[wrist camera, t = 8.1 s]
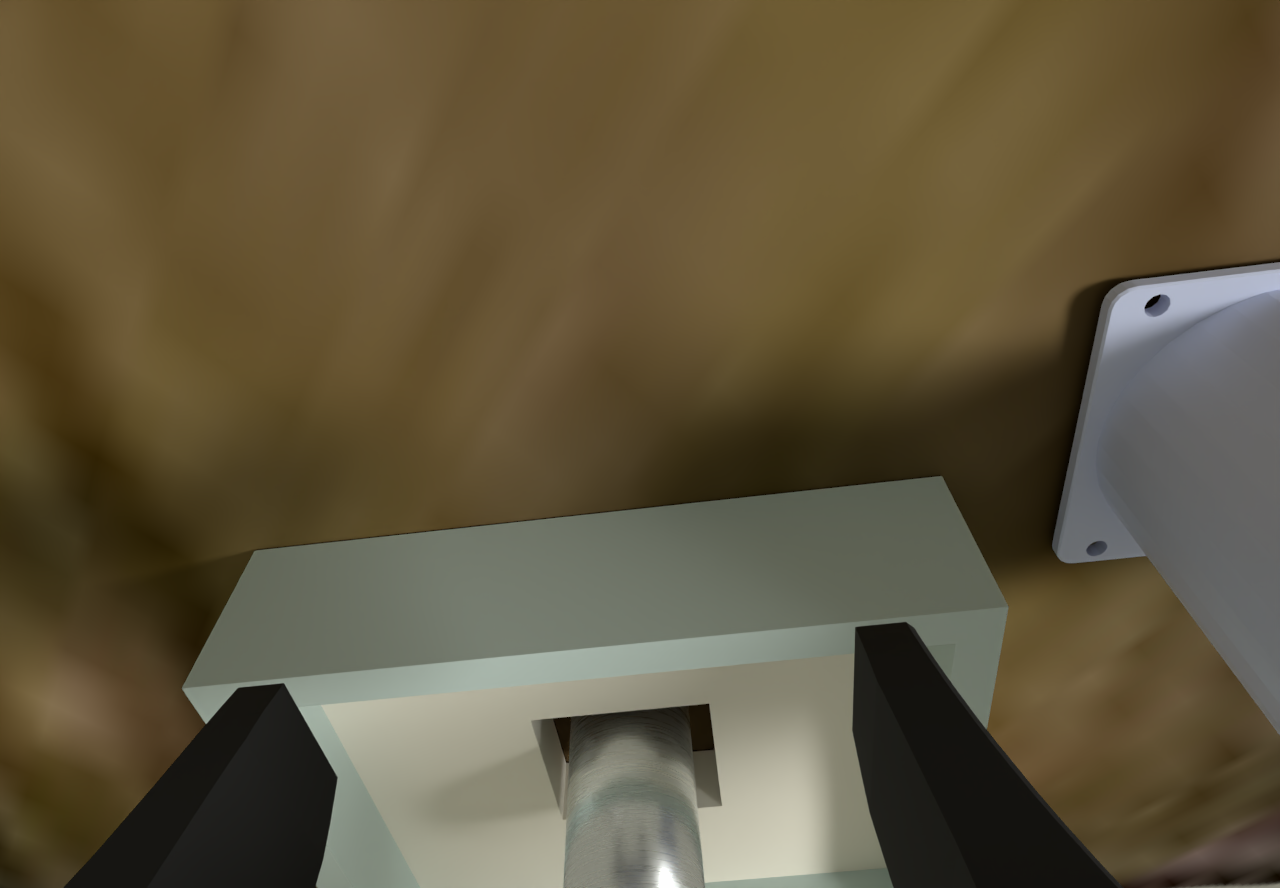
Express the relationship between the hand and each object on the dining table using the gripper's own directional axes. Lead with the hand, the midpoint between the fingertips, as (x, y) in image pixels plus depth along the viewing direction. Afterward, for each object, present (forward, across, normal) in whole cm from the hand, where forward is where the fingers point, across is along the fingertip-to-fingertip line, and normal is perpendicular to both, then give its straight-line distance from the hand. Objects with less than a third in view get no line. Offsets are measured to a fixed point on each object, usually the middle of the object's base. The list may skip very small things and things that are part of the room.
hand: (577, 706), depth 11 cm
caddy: (+10, +1, +13) cm, 16 cm away
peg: (+10, +1, +13) cm, 16 cm away
